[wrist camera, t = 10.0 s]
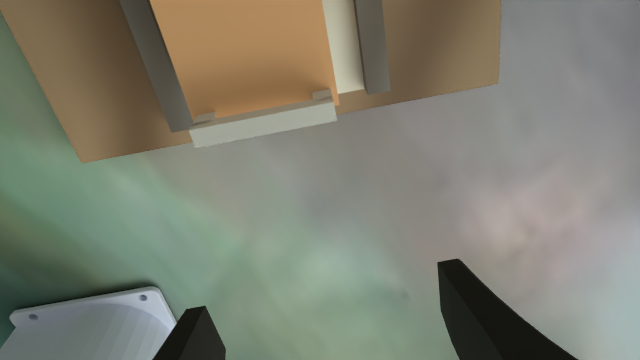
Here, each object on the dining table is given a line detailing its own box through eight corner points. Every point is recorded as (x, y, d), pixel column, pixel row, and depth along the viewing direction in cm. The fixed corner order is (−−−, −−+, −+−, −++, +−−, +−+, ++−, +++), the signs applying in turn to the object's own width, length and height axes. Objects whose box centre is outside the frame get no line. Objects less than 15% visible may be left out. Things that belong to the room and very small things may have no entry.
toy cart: (328, 65, 18) (343, 119, 12) (221, 86, 18) (189, 149, 13) (300, -97, 15) (302, -123, 9) (172, -69, 15) (101, -78, 10)
